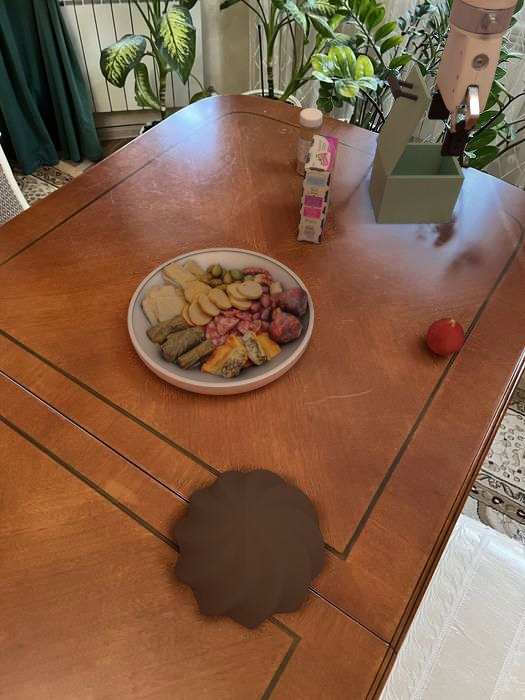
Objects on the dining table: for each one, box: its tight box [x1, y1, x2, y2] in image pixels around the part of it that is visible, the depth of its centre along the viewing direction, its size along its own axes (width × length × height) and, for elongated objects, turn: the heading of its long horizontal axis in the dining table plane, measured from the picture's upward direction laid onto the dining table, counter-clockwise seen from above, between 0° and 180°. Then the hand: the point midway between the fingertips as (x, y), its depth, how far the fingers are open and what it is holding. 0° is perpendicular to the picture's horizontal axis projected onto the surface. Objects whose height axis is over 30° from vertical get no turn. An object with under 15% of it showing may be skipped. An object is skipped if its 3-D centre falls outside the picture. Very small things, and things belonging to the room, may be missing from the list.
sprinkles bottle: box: [296, 107, 324, 177], centre depth 119 cm, size 5×5×13 cm
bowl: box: [127, 247, 315, 396], centre depth 93 cm, size 30×30×8 cm
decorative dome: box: [172, 468, 326, 630], centre depth 70 cm, size 19×20×10 cm
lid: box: [375, 63, 432, 176], centre depth 102 cm, size 15×12×5 cm
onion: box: [425, 317, 465, 356], centre depth 91 cm, size 6×6×8 cm
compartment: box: [367, 142, 466, 225], centre depth 114 cm, size 15×12×11 cm
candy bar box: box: [296, 134, 340, 245], centre depth 107 cm, size 11×5×16 cm, turn 168°
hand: (443, 136), depth 86 cm, fingers open, 9 cm apart
